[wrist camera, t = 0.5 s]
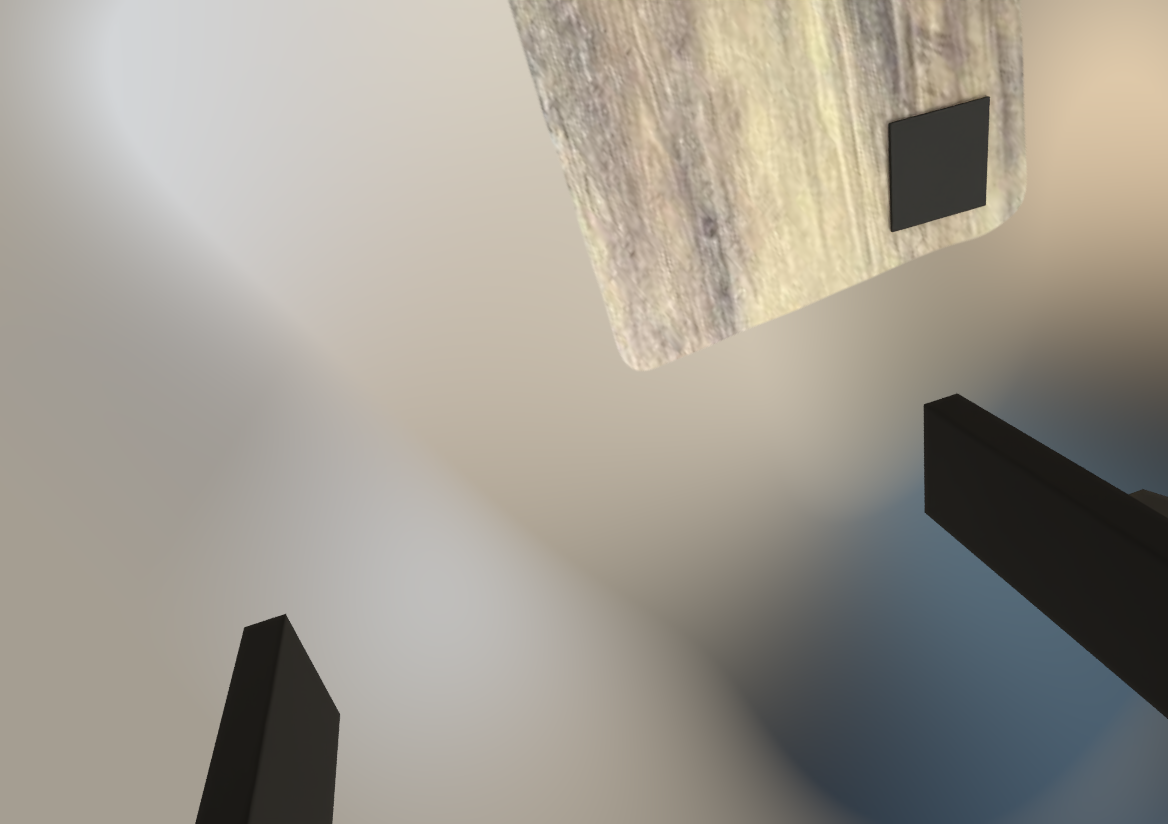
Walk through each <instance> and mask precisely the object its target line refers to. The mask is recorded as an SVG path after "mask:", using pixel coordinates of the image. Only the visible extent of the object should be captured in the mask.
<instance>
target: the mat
mask: <svg viewBox="0 0 1168 824" xmlns="http://www.w3.org/2000/svg"><path fill="white" fill-rule="evenodd" d="M989 105H990V97H984V98H981V99H977V100H973V101H969V102H966V103H962V104H958V105H955V106H951V107H947V108H944V109H940V110H936V111H933V112H929V113H925V114H922V115H918V116H914V117H911V118H907V119H903V120H900V121H896V122H892V123H889V158H890V205H891V232H895V231H899V230H902V229H906V228H909V227H912V226H916V225H919V224H923V223H926V222H930V221H933V220H937V219H940V218H943V217H947V216H950V215H954V214H957V213H961V212H964V211H968V210H971V209H974V208H978V207H981V206H985V205H986V184H987V158H988V131H989Z"/></svg>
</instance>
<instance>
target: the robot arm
mask: <svg viewBox="0 0 1168 824" xmlns="http://www.w3.org/2000/svg"><path fill="white" fill-rule="evenodd" d="M924 475H925V476H924V478H925V479H924V484H925V513H926V514H927V515H928V516H930V517H931V518H932V519H933V520H934V521H935V522H937V523H938V524H939V525H940V526H941V527H943V528H944V529H945V530H946V531H947V532H948V533H950V534H951V535H952V536H953V537H955V539H957V540H958V541H959V542H960V543H961V544H963V545H964V546H965V547H966V548H967V549H968V550H970V551H971V552H972V553H973V554H974V555H976V556H977V557H978V558H979V559H980V560H981V561H983V562H984V563H985V564H986V565H987V566H988V567H990V568H991V569H992V570H993V571H995V573H997V574H998V575H999V576H1000V577H1002V578H1003V579H1004V580H1005V581H1006V582H1007V583H1009V584H1010V585H1011V586H1012V587H1013V588H1015V589H1016V590H1017V591H1018V592H1019V593H1020V594H1021V595H1023V596H1024V597H1025V598H1026V599H1027V600H1029V601H1030V602H1031V603H1032V604H1033V605H1034V606H1036V607H1037V608H1038V609H1039V610H1040V611H1042V612H1043V613H1044V614H1045V615H1046V616H1048V617H1049V618H1050V619H1051V620H1052V621H1053V622H1054V623H1056V624H1057V625H1058V626H1059V627H1060V628H1061V629H1063V630H1064V631H1065V632H1066V633H1067V634H1069V635H1070V636H1071V637H1072V638H1073V639H1074V640H1076V641H1077V642H1078V643H1079V644H1080V645H1082V646H1083V647H1084V648H1085V649H1086V650H1087V651H1089V652H1090V653H1091V654H1092V655H1093V656H1095V657H1096V658H1097V659H1098V660H1099V661H1100V662H1102V663H1103V664H1104V665H1105V666H1106V667H1107V668H1109V669H1110V670H1111V671H1112V672H1114V673H1115V674H1116V675H1117V676H1118V677H1119V678H1121V679H1122V680H1123V681H1124V682H1125V683H1127V685H1129V686H1130V687H1131V688H1132V689H1133V690H1135V691H1136V692H1137V693H1138V694H1139V695H1140V696H1142V697H1143V698H1144V699H1145V700H1146V701H1148V702H1149V703H1150V704H1151V705H1152V706H1153V707H1155V708H1156V709H1157V710H1158V711H1159V712H1160V713H1162V714H1163V715H1164V716H1165V717H1166V718H1167V719H1168V497H1166V496H1163V495H1159V494H1157V493H1154V492H1150V491H1147V490H1144V489H1142V490H1140V491H1137V492H1134V493H1131V494H1126V493H1125V492H1123V491H1121V490H1120V489H1118V488H1116V487H1115V486H1113V485H1111V484H1110V483H1108V482H1106V481H1104V480H1102V479H1101V478H1099V477H1098V476H1096V475H1094V474H1093V473H1091V472H1089V471H1087V470H1086V469H1084V468H1083V467H1081V466H1079V465H1077V464H1076V463H1074V462H1072V461H1071V460H1069V459H1067V458H1066V457H1064V456H1062V455H1061V454H1059V453H1057V452H1055V451H1054V450H1052V449H1050V448H1049V447H1047V446H1045V445H1044V444H1042V443H1040V442H1039V441H1037V440H1035V439H1034V438H1032V437H1030V436H1028V435H1027V434H1025V433H1023V432H1022V431H1020V430H1018V429H1017V428H1015V427H1013V426H1012V425H1010V424H1008V423H1006V422H1005V421H1003V420H1001V419H1000V418H998V417H996V416H995V415H993V414H991V413H990V412H988V411H986V410H984V409H983V408H981V407H979V406H978V405H976V404H974V403H972V402H971V401H969V400H968V399H966V398H964V397H962V396H961V395H959V394H954V395H951V396H949V397H945V398H942V399H939V400H936V401H933V402H930V403H927V404H924ZM339 721H340V713H339V712H338V710H337V708H336V706H335V704H334V702H333V700H332V699H331V697H330V695H329V693H328V691H327V689H326V688H325V686H324V684H323V682H322V680H321V679H320V676H319V675H318V673H317V671H316V669H315V667H314V665H313V664H312V662H311V660H310V658H309V656H308V655H307V653H306V651H305V649H304V647H303V645H302V643H301V642H300V640H299V638H298V636H297V634H296V632H295V630H294V628H293V627H292V625H291V623H290V621H289V619H288V618H287V616H286V614H284V615H281V616H278V617H275V618H272V619H268V620H266V621H263V622H259V623H256V624H253V625H250V626H247V627H245V628H244V631H243V635H242V639H241V643H240V647H239V651H238V655H237V659H236V663H235V667H234V671H233V675H232V679H231V683H230V687H229V691H228V695H227V699H226V703H225V707H224V711H223V715H222V719H221V723H220V727H219V731H218V735H217V739H216V743H215V747H214V751H213V755H212V759H211V763H210V767H209V771H208V775H207V779H206V783H205V787H204V791H203V795H202V799H201V803H200V807H199V811H198V815H197V819H196V823H195V824H332V820H333V806H334V792H335V778H336V764H337V750H338V736H339V735H338V734H339Z"/></svg>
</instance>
